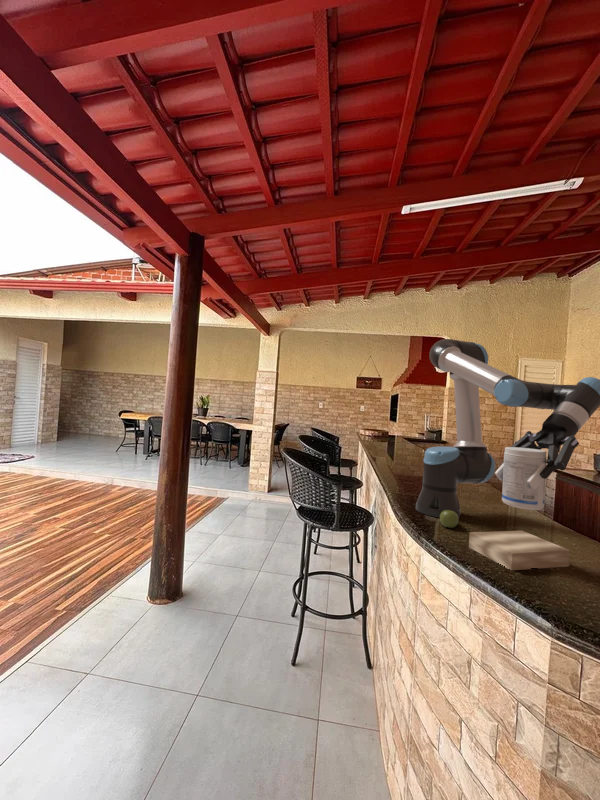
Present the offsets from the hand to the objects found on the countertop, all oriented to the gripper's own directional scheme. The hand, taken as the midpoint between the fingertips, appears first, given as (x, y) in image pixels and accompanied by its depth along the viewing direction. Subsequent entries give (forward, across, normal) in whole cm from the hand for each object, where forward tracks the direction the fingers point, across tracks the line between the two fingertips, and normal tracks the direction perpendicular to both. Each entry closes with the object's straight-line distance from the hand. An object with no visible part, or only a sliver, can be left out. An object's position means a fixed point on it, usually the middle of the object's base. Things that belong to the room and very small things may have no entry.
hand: (513, 480), depth 96 cm
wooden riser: (+12, +1, -16) cm, 20 cm away
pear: (+13, +25, -15) cm, 32 cm away
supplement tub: (+2, 0, -7) cm, 7 cm away
